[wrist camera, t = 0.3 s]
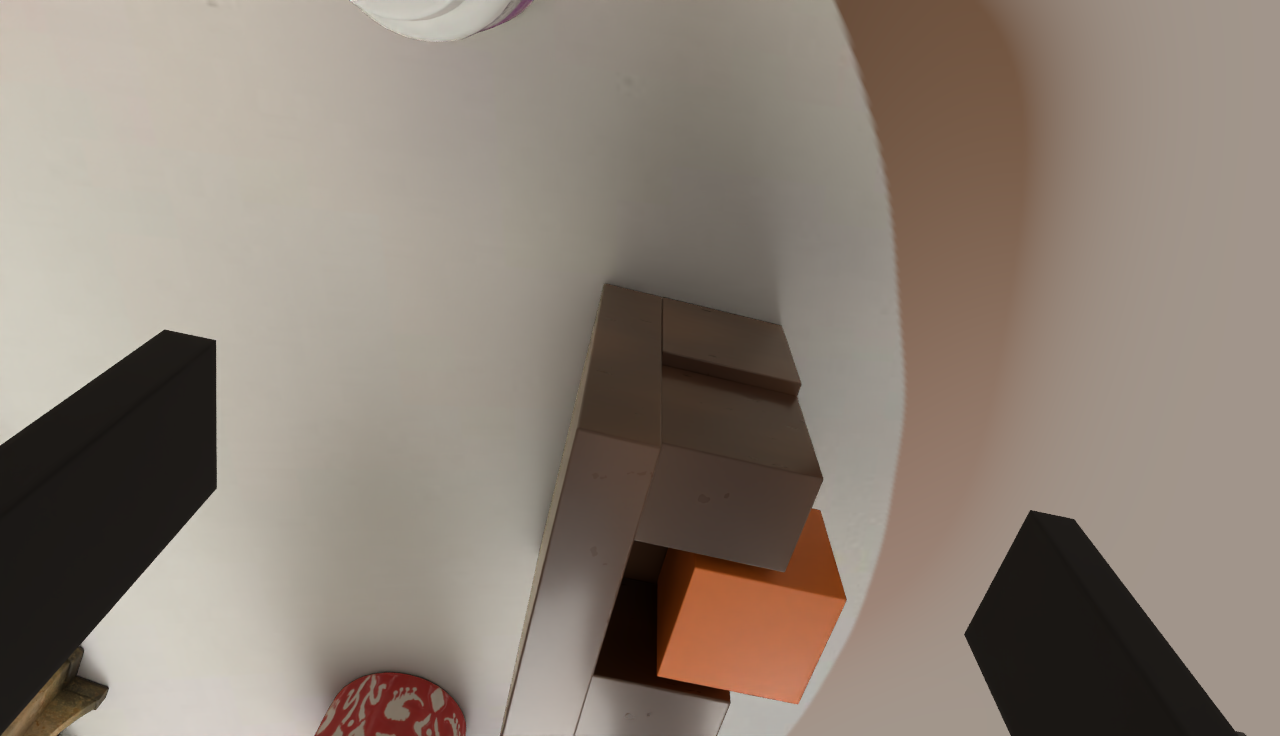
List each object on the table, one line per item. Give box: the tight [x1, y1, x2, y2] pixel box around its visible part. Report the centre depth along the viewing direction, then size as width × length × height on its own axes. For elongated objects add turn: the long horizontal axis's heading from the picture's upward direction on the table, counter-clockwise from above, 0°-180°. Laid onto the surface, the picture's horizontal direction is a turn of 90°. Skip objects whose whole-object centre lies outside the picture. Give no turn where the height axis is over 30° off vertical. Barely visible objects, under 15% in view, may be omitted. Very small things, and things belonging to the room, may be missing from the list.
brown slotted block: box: [500, 284, 823, 736], centre depth 30 cm, size 7×14×12 cm, turn 166°
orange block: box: [657, 508, 847, 704], centre depth 29 cm, size 5×5×5 cm
